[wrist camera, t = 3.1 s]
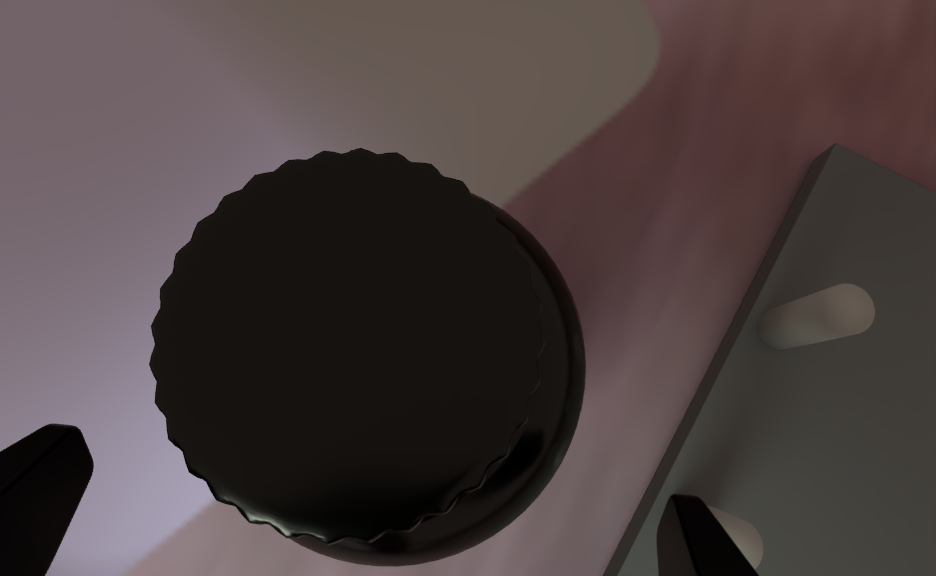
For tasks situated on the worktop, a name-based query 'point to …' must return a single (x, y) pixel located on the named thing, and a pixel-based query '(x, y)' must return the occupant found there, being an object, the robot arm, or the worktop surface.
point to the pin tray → (820, 392)
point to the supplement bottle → (368, 359)
